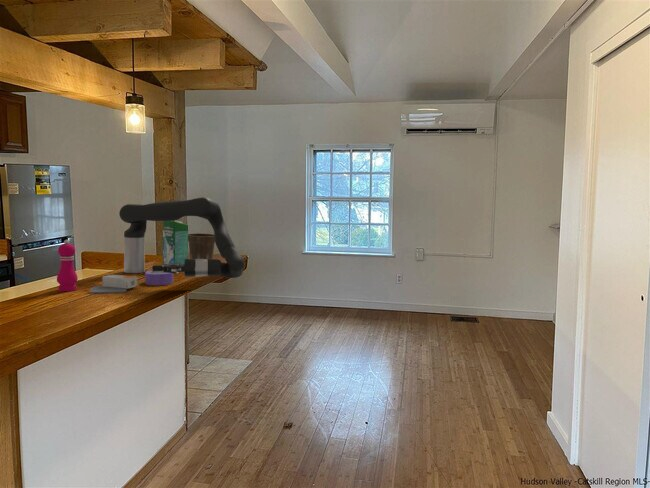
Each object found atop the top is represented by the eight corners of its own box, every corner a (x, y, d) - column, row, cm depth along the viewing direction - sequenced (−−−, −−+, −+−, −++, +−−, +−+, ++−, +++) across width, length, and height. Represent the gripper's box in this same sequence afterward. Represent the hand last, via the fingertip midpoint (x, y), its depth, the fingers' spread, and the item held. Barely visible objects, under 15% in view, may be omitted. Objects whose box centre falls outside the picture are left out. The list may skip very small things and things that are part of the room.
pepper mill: (82, 289, 188) (81, 239, 186) (66, 292, 181) (65, 241, 179) (68, 287, 190) (67, 238, 188) (52, 290, 183) (51, 239, 181)
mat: (94, 287, 193) (94, 285, 192) (128, 286, 196) (128, 285, 196) (88, 293, 181) (88, 291, 181) (125, 292, 185) (125, 291, 185)
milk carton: (188, 267, 249) (188, 220, 246) (174, 269, 241) (174, 221, 238) (176, 265, 253) (176, 219, 251) (162, 267, 246) (162, 220, 243)
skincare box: (128, 278, 189) (101, 276, 191) (128, 288, 189) (102, 286, 191) (137, 275, 195) (111, 274, 197) (137, 286, 195) (111, 284, 197)
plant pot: (222, 262, 270) (222, 235, 268) (201, 266, 256) (201, 236, 255) (202, 259, 279) (202, 232, 277) (180, 262, 265) (180, 234, 263)
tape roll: (142, 285, 201) (142, 273, 200) (148, 280, 212) (148, 269, 212) (171, 285, 203) (171, 274, 202) (175, 280, 214) (175, 269, 214)
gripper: (195, 256, 203) (153, 257, 198) (196, 261, 191) (151, 261, 186) (195, 273, 204) (153, 274, 199) (196, 279, 191) (151, 280, 187)
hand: (152, 268), depth 192 cm, fingers closed
